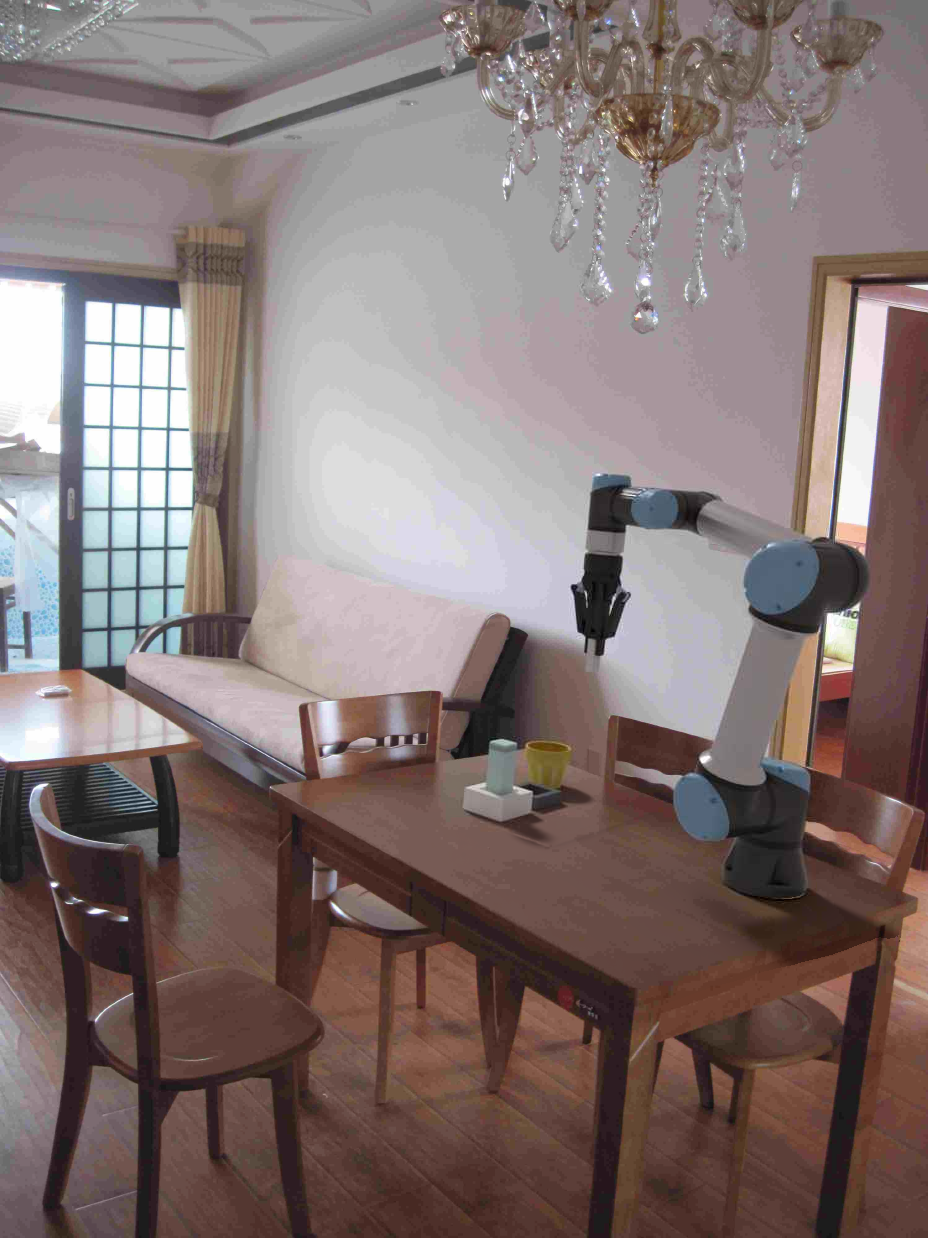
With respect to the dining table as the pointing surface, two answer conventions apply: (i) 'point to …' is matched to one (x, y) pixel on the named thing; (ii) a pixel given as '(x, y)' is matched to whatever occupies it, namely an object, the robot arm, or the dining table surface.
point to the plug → (501, 767)
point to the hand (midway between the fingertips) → (592, 671)
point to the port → (497, 802)
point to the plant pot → (547, 762)
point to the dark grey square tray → (541, 795)
